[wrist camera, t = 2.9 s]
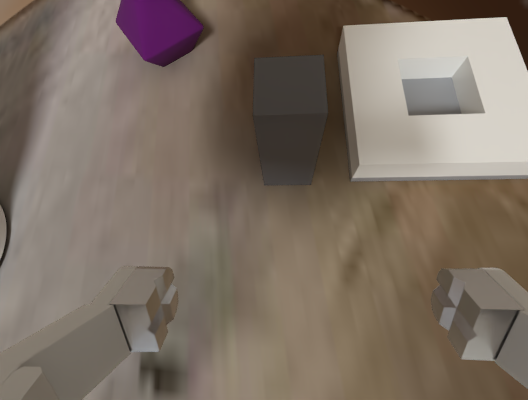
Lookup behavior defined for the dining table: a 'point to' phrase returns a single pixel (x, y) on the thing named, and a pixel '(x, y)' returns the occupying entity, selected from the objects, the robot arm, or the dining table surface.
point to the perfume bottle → (159, 29)
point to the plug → (289, 116)
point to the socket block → (434, 101)
